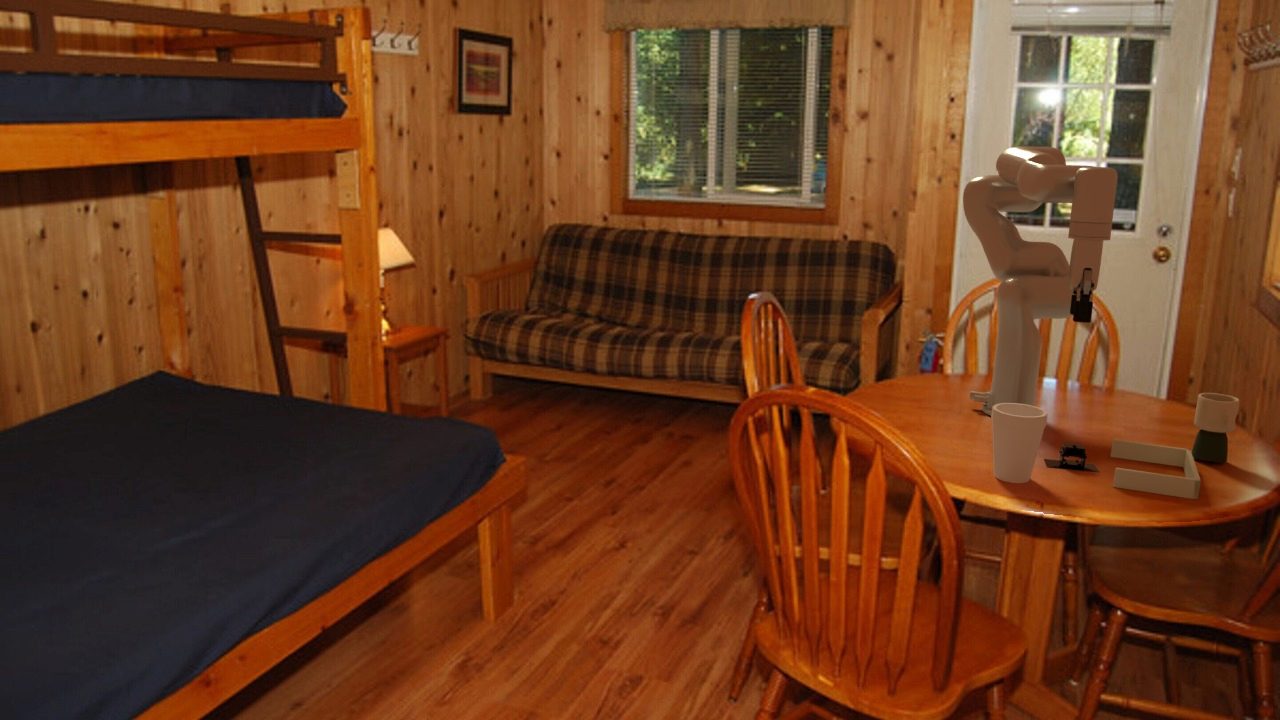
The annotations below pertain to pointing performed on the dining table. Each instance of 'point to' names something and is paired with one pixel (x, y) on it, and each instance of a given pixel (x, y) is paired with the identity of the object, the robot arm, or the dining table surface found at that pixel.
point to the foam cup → (1016, 440)
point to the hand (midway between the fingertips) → (1079, 318)
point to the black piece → (1072, 451)
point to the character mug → (1214, 425)
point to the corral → (1155, 481)
